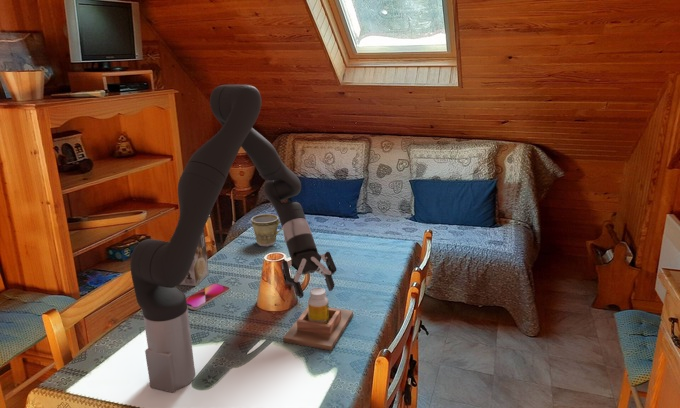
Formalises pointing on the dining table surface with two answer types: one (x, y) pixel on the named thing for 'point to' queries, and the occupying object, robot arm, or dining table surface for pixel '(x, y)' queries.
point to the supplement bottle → (318, 306)
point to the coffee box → (198, 265)
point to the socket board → (319, 329)
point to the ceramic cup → (265, 228)
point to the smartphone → (205, 296)
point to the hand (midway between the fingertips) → (316, 293)
